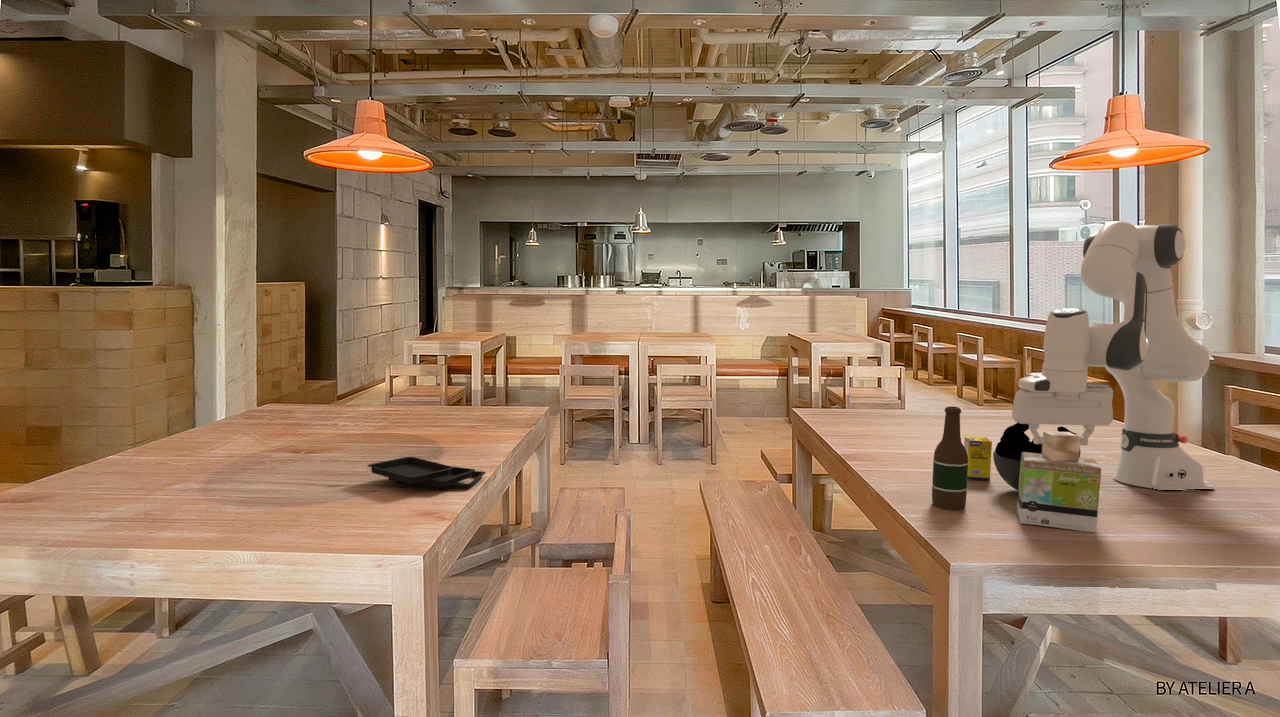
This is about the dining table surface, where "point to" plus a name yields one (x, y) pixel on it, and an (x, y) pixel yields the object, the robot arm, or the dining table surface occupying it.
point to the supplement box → (978, 457)
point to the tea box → (1059, 492)
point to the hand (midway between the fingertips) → (1060, 444)
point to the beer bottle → (950, 465)
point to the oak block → (1061, 446)
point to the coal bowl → (1015, 452)
